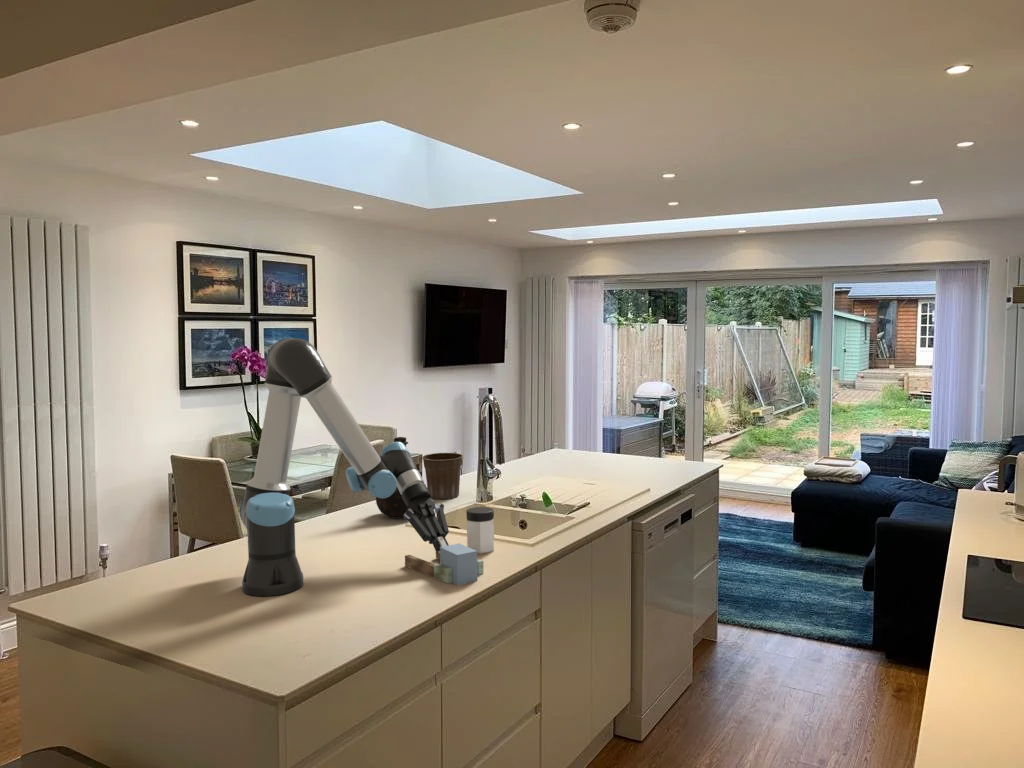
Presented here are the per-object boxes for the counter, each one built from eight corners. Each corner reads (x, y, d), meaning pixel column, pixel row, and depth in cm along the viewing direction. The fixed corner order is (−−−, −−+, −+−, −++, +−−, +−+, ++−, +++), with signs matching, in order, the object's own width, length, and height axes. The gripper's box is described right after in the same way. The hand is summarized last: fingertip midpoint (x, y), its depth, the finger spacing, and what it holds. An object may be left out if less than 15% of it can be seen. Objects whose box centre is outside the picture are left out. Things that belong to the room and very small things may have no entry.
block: (440, 576, 205) (440, 547, 204) (459, 572, 208) (459, 543, 208) (457, 585, 197) (457, 555, 197) (477, 580, 201) (477, 550, 200)
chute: (405, 566, 214) (404, 553, 213) (440, 557, 222) (440, 545, 221) (447, 583, 199) (447, 570, 198) (483, 573, 206) (483, 560, 206)
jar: (494, 553, 225) (493, 513, 224) (466, 554, 224) (466, 513, 224) (494, 544, 234) (493, 506, 233) (467, 545, 233) (466, 506, 233)
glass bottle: (386, 524, 260) (384, 442, 258) (369, 513, 276) (367, 436, 274) (434, 517, 269) (432, 438, 267) (415, 507, 285) (413, 432, 283)
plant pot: (446, 502, 292) (446, 460, 291) (414, 498, 301) (413, 457, 300) (472, 494, 306) (471, 454, 304) (440, 490, 314) (439, 451, 313)
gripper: (427, 493, 226) (461, 562, 214) (388, 500, 218) (422, 571, 206) (437, 478, 222) (473, 547, 210) (398, 484, 213) (433, 557, 202)
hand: (448, 559), depth 208 cm, fingers closed
